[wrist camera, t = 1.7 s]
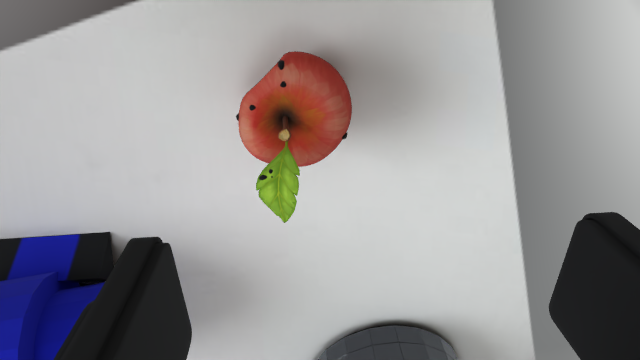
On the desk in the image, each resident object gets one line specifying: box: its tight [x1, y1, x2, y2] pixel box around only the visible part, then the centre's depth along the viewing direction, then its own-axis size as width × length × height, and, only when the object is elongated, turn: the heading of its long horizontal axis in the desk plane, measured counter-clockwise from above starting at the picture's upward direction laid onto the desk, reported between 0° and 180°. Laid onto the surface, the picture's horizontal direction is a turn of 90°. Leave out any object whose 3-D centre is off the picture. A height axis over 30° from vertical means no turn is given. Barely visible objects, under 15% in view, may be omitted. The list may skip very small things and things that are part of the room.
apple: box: [236, 52, 352, 223], centre depth 24 cm, size 8×7×10 cm
